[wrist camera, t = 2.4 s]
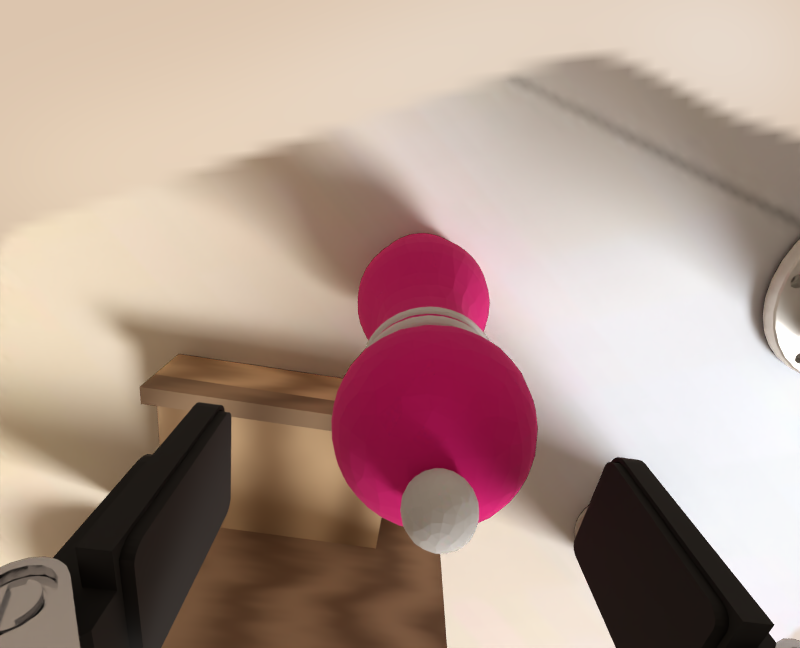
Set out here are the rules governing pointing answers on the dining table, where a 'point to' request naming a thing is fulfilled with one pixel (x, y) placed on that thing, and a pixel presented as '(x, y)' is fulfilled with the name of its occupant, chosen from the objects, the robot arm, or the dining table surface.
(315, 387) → the wall shelf
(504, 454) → the pepper mill
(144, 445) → the dining table surface
